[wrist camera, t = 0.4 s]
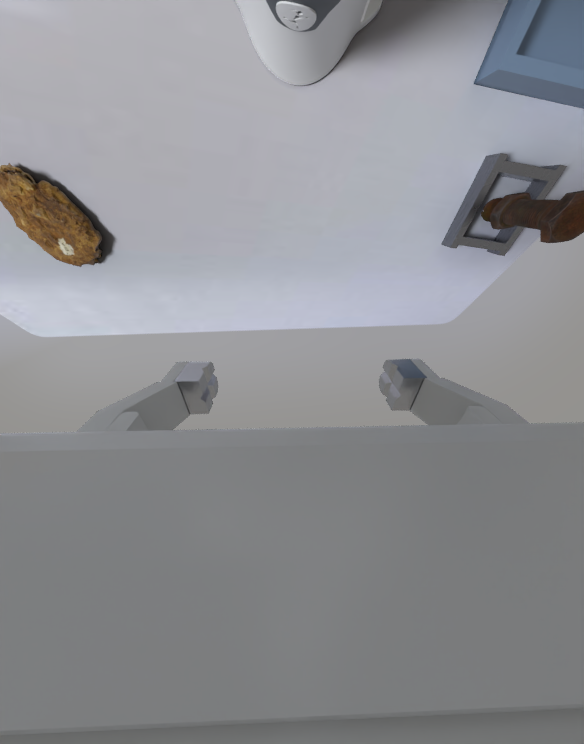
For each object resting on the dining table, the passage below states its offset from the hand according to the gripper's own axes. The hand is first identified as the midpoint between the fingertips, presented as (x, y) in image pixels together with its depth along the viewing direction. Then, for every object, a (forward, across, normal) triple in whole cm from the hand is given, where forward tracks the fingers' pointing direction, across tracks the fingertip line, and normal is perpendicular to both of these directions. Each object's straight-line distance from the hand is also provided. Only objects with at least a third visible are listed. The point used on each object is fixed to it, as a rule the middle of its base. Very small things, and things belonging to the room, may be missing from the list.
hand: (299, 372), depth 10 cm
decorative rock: (+40, +41, -7) cm, 58 cm away
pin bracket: (+38, -35, -8) cm, 52 cm away
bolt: (+38, -35, -8) cm, 52 cm away
